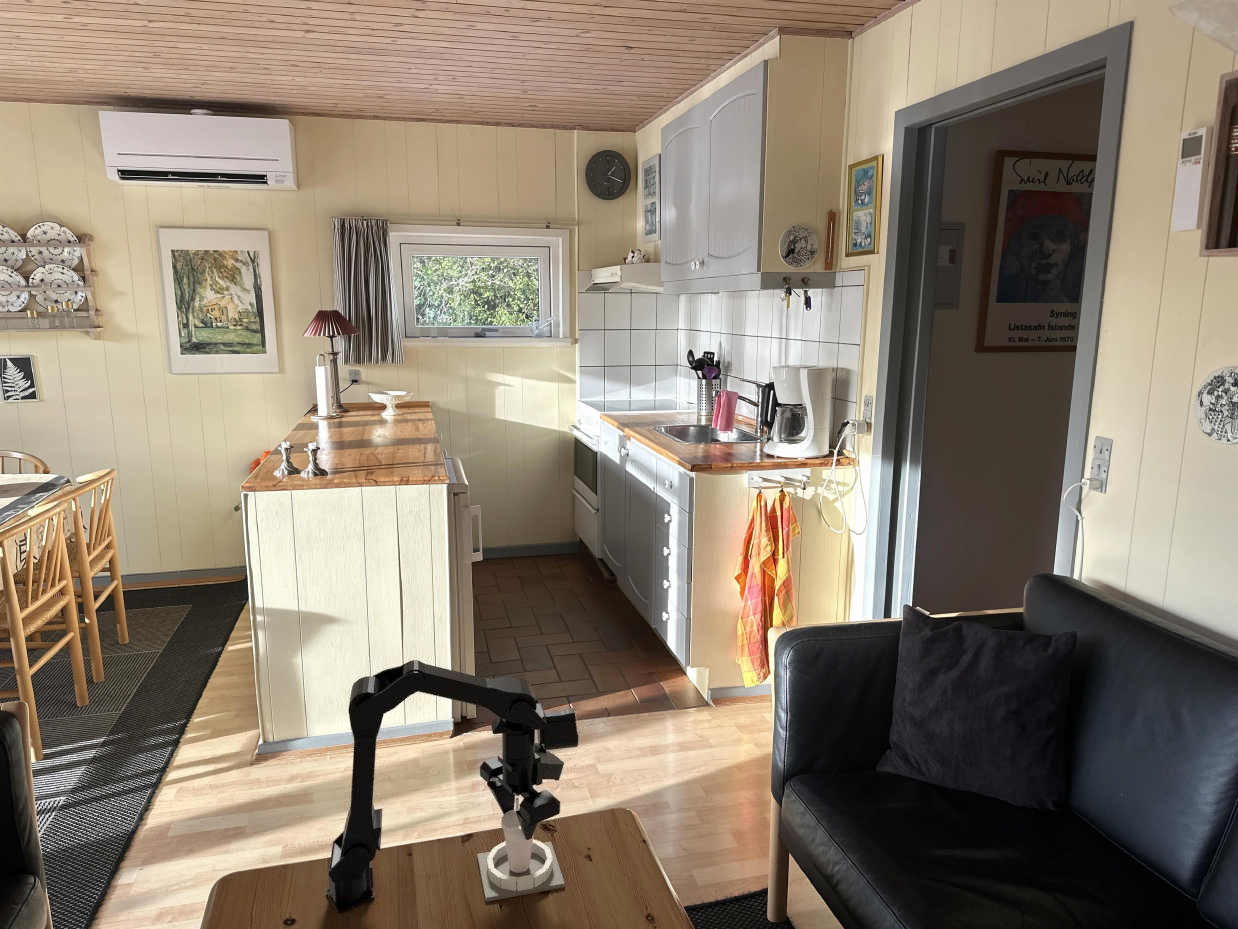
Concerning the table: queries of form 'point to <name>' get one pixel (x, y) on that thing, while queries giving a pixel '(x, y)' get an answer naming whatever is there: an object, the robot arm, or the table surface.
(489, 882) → the socket board
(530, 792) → the robot arm
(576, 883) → the table surface
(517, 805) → the smoothie
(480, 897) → the table surface
